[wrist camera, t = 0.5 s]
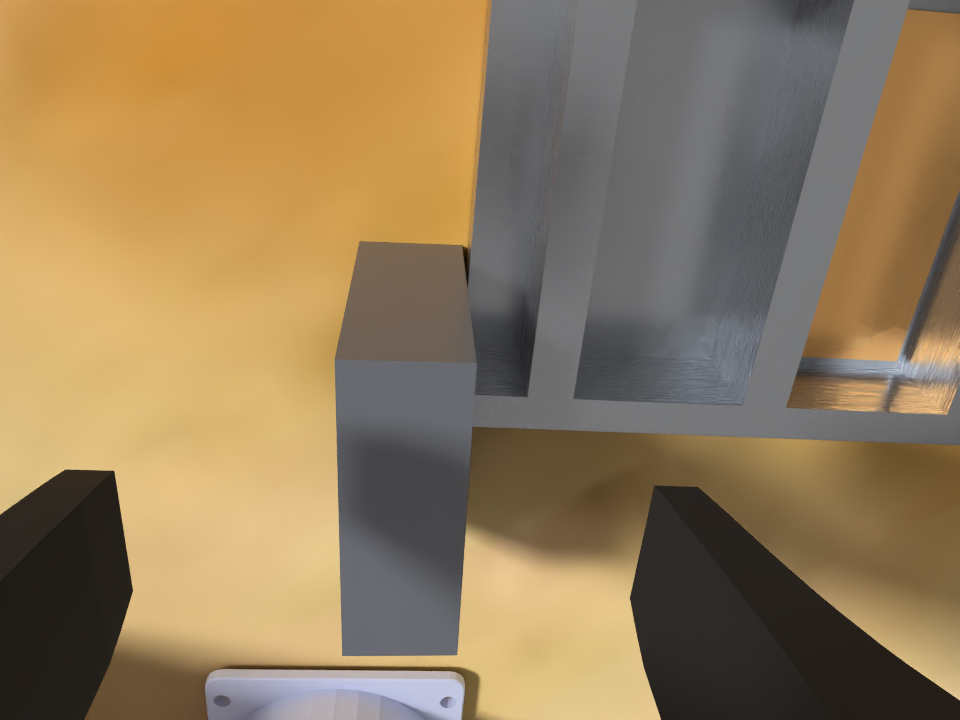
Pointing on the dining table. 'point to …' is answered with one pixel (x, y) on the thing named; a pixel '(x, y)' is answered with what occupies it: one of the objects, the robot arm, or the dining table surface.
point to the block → (404, 448)
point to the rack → (719, 219)
